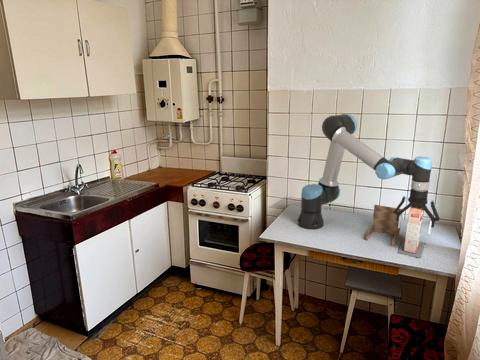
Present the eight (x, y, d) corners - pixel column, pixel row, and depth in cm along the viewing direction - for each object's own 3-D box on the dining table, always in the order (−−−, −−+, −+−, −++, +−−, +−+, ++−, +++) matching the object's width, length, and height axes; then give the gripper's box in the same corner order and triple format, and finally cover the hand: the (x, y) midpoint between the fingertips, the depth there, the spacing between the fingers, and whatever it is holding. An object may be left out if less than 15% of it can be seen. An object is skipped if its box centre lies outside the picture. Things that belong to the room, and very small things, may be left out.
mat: (397, 253, 169) (397, 252, 169) (403, 239, 184) (403, 238, 184) (420, 258, 164) (420, 257, 164) (424, 244, 178) (424, 242, 178)
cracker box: (416, 254, 166) (422, 213, 161) (403, 251, 170) (407, 211, 164) (420, 243, 178) (425, 205, 172) (407, 240, 181) (411, 203, 175)
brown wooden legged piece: (365, 240, 184) (367, 213, 180) (372, 229, 197) (374, 204, 193) (394, 246, 176) (397, 218, 172) (399, 234, 189) (402, 209, 185)
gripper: (390, 187, 169) (385, 227, 175) (449, 195, 156) (442, 238, 162) (393, 183, 175) (388, 222, 181) (449, 191, 162) (443, 232, 168)
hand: (414, 230), depth 171 cm, fingers open, 13 cm apart
